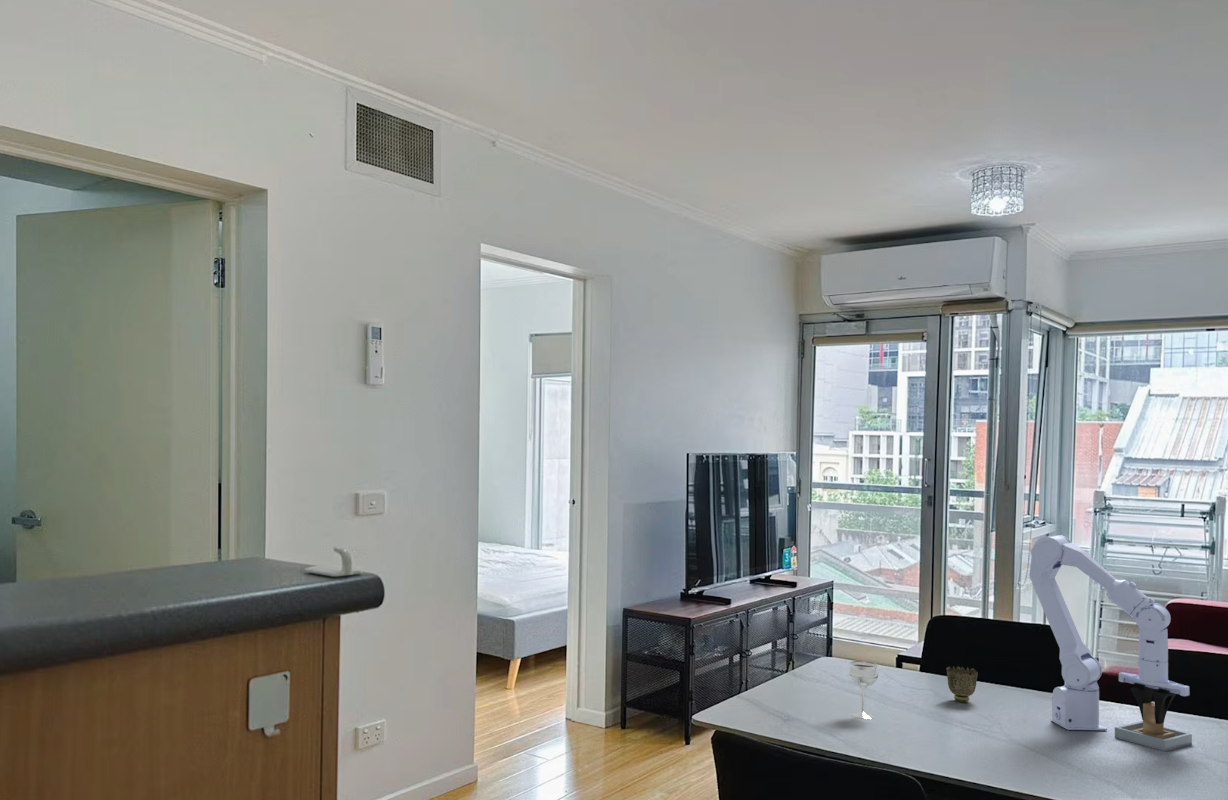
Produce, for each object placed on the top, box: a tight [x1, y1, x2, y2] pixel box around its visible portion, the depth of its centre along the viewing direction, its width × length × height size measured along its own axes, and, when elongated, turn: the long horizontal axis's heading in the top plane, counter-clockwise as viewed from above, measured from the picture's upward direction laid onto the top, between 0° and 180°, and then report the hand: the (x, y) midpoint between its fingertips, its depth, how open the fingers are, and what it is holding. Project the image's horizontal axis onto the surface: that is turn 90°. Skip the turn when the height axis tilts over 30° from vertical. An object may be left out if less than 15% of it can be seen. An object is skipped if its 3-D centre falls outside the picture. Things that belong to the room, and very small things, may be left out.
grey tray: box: [1114, 720, 1193, 752], centre depth 211 cm, size 11×11×2 cm
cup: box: [945, 666, 979, 704], centre depth 240 cm, size 8×7×8 cm
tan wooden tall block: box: [1142, 701, 1165, 736], centre depth 211 cm, size 2×4×7 cm, turn 123°
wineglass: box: [848, 660, 879, 720], centre depth 224 cm, size 7×7×12 cm
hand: (1153, 721), depth 211 cm, fingers closed on tan wooden tall block, 2 cm apart
